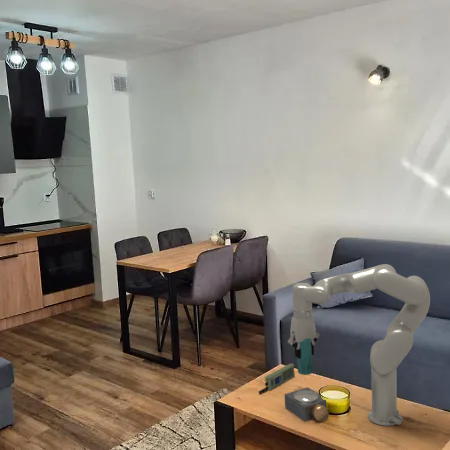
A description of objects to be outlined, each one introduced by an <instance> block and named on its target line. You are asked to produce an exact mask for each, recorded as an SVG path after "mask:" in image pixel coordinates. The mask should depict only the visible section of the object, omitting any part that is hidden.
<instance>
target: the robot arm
mask: <svg viewBox="0 0 450 450" xmlns="http://www.w3.org/2000/svg"><path fill="white" fill-rule="evenodd" d="M377 289H378V290H379V291H381V292H382V293H384V294H387V295H389V296H391V297H393V298H395V299H397V300H399V301H401V302H404V305H403V306H402V308H401V309H400V311H399V312H398V314H397V315H396V317H395V318H394V319H393V320H392V321H391V322H390V324H389V325H388V326H387V329H386V336H385V338H383V339H380V340H377V341H375V342H374V343H373V344H372V346H371V349H370V354H369V355H370V356H369V357H370V358H369V363H370V364H369V365H370V367H371V369H370V370H371V372H370V374H371V375H370V377H371V378H370V379H371V380H370V381H371V410H369V411H368V413H367V417H368V420H369V421H371V422H372V423H374V424H375V425H379V426H385V427H391V426H396V425H401V424H402V421H404V417H403V416H401V414H400V411H399V409H398V405H397V404H398V403H397V401H398V397H397V395H398V394H397V392H398V391H397V386H398V385H397V378H398V377H397V368H398V367H399V365H400V364H401V363H402V362H403V360H405V358H406V357H407V355H408V353H409V352H410V350H412V347H413V345H414V335H415V332H416V331H417V329H418V328H419V327H420V326H421V324H422V322H424V320H425V318H426V316H427V314H428V312H429V309H430V305H431V294H430V290H429V288H428V285H427V283H426V282H425V280H424V279H423V278H421V277H420V276H419V275H410V276H408V277H405V276H403V275H400V274H399V273H397V271H396V269H395V268H394V267H393V266H392V265H391V264H387V263H385V264H378V265H376V266H372V267H368V268H364V269H361V270H359V271H358V270H357V271H354V272H349V273H343V274H338V275H334V276H330V277H326V278H322V279H320V280H318V281H317V282H316V283H315V284H314V285H311V284H310V283H308V282H298V283H297V282H296V283H294V284H293V286H292V303H293V304H292V305H293V306H292V307H293V316H292V317H291V323H290V332H289V333H290V335H289V336H290V337H289V339H288V340H287V343H288V344H289V345H290V346H292V347H293V349H294V356H295V358H296V359H297V358H299V359H301V350H300V349H299V348H300V342H302V341H303V340H305V339H311V349H312V356H314V354H315V346H316V342H317V341H318V339H319V337H320V333H319V332H318V331H317V327H316V322H315V317H314V315H313V313H314V312H315V309H314V308H313V304H317V305H323V304H326V303H327V302H329V299H330V297H331V296H335V295H338V294H343V293H352V294H357V295H358V294H359V295H360V294H363V293H366V292H370V291H374V290H377ZM296 342H297V343H296Z"/></svg>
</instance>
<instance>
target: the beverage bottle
mask: <svg viewBox="0 0 450 450" xmlns="http://www.w3.org/2000/svg"><path fill="white" fill-rule="evenodd" d="M296 343H297V342H296ZM299 349H300V350H301V359H299V358H297V357H296V365H297V366H296V367H297V372H298V374H299V375H303V376H308V375H311V374H313V373H314V363H313V355H312V349H311V339H305V340H303V341H302V342H300V348H299Z"/></svg>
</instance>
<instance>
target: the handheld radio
mask: <svg viewBox="0 0 450 450" xmlns="http://www.w3.org/2000/svg"><path fill="white" fill-rule="evenodd" d="M294 365H295V364H294V363H289V364H286V365H285V366H283V367H281V368H279V369H277V370H275V371H273V372H271V373H269V374H267V375H265V376H264V378H265V379H264V381H265V383H264V386H265V388H264V387H263V388H262V389H260V390H259V391H258V394H259V395H261V394H262V393H264V392H266V391H268V392H270V391H272V390H273V389H276V388H277V387H279V386H282V385H283V384H284V383H286V382H289V381H290V380H291V379H293V378H295V366H294Z"/></svg>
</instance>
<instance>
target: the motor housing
mask: <svg viewBox="0 0 450 450" xmlns="http://www.w3.org/2000/svg"><path fill="white" fill-rule="evenodd" d="M320 395H321V394H319V393H318V392H316V391H315V390H313V389H311V388H310V387H304V388H299V389H298V390H294V391H290V392H288V393H285V394H284V408H285V409H286V410H288V412H290V413H292V414H293V415H295V416H296V417H297V418H299V419H301V420H302V421H303V422H308V421H311V420H314V419H315V420H316V421H318V422H319V423H323V422H325V421H327V419H328V417H329V415H330V412H329V411H328V410H329V408H328V409H327V408H326V400H323V399H322V398H321V397H320Z"/></svg>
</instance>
